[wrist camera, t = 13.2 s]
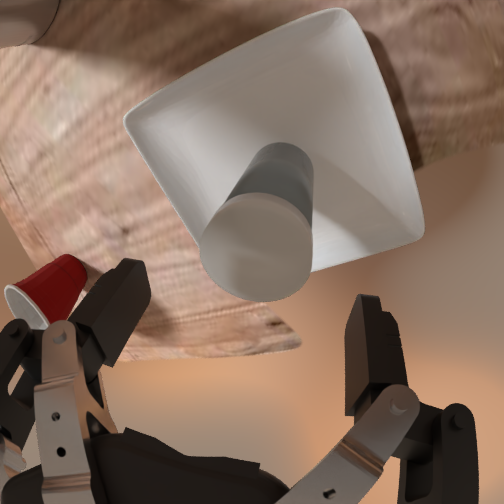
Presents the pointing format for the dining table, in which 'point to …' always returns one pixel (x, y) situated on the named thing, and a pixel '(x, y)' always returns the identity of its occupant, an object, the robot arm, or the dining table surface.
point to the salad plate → (289, 134)
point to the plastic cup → (47, 292)
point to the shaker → (264, 228)
